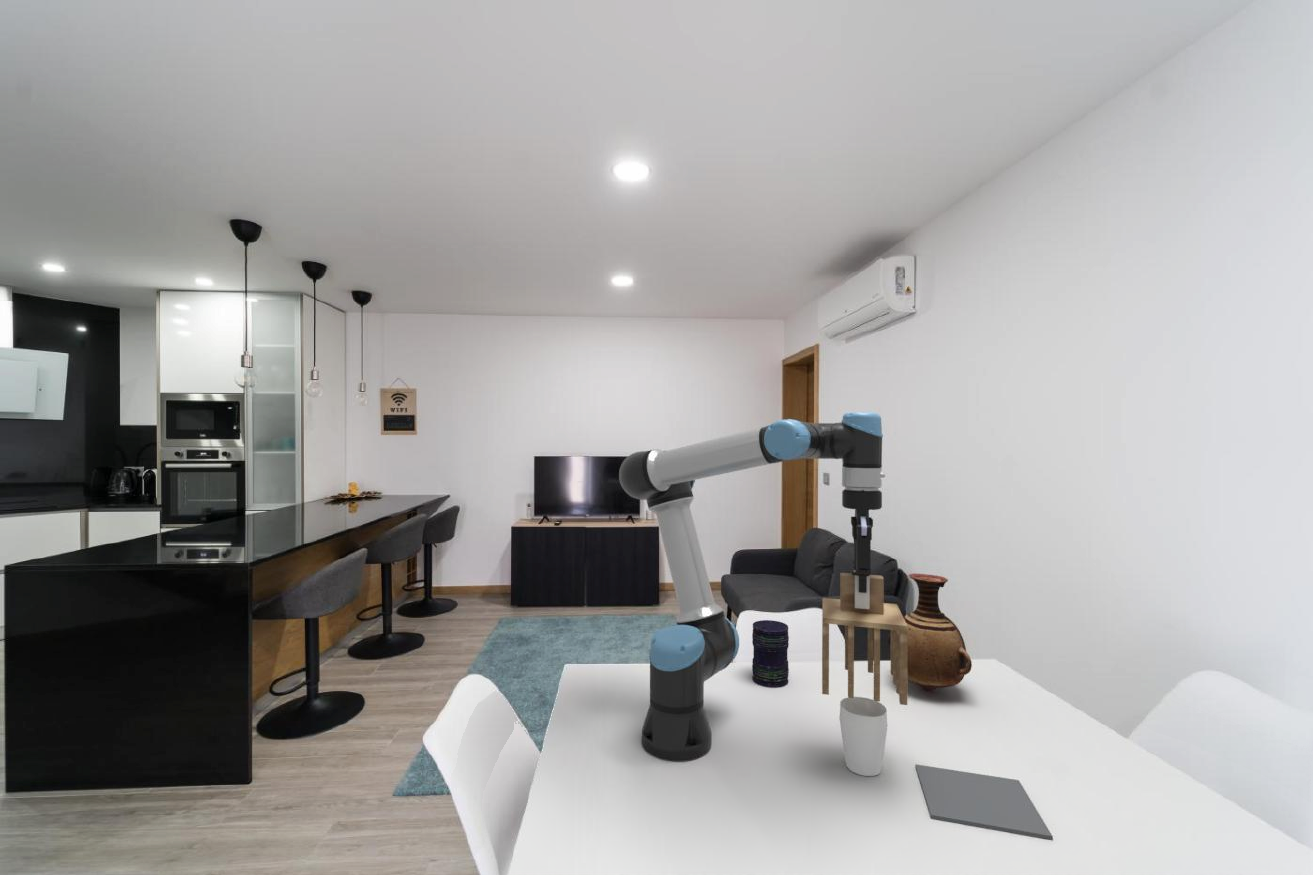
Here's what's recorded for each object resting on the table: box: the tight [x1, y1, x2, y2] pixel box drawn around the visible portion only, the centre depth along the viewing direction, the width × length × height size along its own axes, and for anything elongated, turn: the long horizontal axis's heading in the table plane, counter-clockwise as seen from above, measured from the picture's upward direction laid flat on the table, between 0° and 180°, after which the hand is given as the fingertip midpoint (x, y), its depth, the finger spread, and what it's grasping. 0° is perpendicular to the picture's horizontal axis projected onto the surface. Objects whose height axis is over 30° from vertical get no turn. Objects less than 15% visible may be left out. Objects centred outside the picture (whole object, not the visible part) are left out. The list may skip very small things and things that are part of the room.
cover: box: [821, 572, 908, 706], centre depth 111 cm, size 15×15×22 cm
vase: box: [887, 573, 973, 692], centre depth 146 cm, size 21×18×30 cm
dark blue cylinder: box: [751, 619, 790, 689], centre depth 152 cm, size 10×10×15 cm
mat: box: [914, 763, 1053, 841], centre depth 100 cm, size 18×16×1 cm
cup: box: [838, 696, 889, 777], centre depth 110 cm, size 9×9×12 cm
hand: (861, 605), depth 111 cm, fingers closed on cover, 3 cm apart
